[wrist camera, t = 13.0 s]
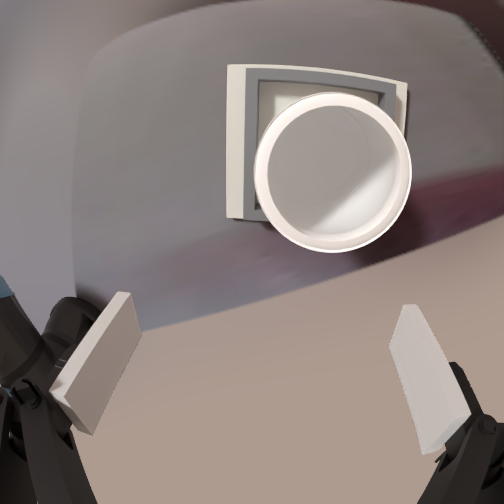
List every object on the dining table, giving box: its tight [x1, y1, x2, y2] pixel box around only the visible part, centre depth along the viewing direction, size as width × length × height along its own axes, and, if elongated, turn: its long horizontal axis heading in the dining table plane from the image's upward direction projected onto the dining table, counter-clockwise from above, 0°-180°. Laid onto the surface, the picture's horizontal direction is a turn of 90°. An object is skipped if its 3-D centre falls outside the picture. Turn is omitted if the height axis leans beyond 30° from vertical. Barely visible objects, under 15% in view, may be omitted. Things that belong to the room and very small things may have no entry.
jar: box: [254, 92, 412, 253], centre depth 24 cm, size 11×10×15 cm
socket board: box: [226, 64, 407, 230], centre depth 30 cm, size 20×18×4 cm
